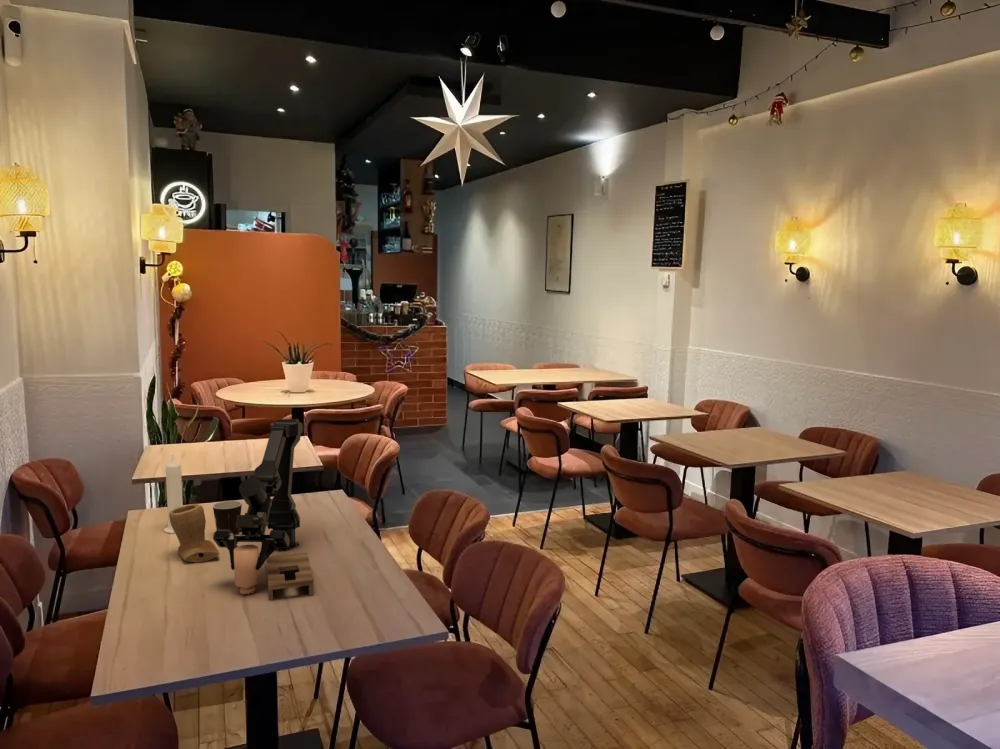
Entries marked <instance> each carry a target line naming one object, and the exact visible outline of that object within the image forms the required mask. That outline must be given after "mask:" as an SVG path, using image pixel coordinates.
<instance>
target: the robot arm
mask: <svg viewBox="0 0 1000 749" xmlns="http://www.w3.org/2000/svg"><path fill="white" fill-rule="evenodd" d="M303 431H304V426H303V423H302V422H300V420H299V419H298V418H295V419H294V418H278V419H277V420H276V421H275V422H271V423H270V427H269V436H268V440H267V443H266V447H265V450H264V454H263V458H262V461H261V463H260V464H259V465H258V466H257V467H256V468H255V469H254V472H253V474H249V475H248V476H249V477H248V478H246V479H244V480H243V481H242V482H241V483H240V484H239V487H238V491H239V494H240V495H241V497H242V499H243V500H244V502H245V504H246V505H247V506H248V507H247V510H246V512H244V514H241V515H237V522H236V528H238V527H239V534H233V533H232V531H231V530H226V529H218V530H217V529H216V531H214V533H213V536H212V539H213V541H214V543H215V544H216V545H217V547H218V548H221V549H223V548H224V549H225V548H226V550H228V552H229V561H230V569H231V570H232V571H234V549H235V548H236V547H239V545H238V544H239V543H261V547H260V551H259V553H258V556H259V557H258V561H257V565H256V570H259V571H260V569H261V567H262V566H264V563H265V562H267V558H268V557H271V555H272V554H273V552H276V551H278V550H279V551H283V552H286V551H288V550H290V549H293V548H294V547H296V546H298V545H300V542H297V541H296V529H298V528H300V527H301V516H300V515H299V512H298V511H297V509H296V508H297V507H296V503H295V501H294V499H293V496H292V485H293V484H292V483H293V470H294V459H295V458H294V457H295V456H294V454H295V447H296V446H297V445H298V443H299V442H300V441H301V437H302V434H303ZM269 494H274V496H273V497H271V496H270V495H269ZM266 529H267V530H270V529H271V530H270V532H269V534H266ZM240 533H241V534H240Z"/></svg>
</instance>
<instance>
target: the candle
mask: <svg viewBox="0 0 1000 749" xmlns="http://www.w3.org/2000/svg"><path fill="white" fill-rule="evenodd" d="M165 480H166V481H165V482H166V484H165V485H166V501H167V502H166V505H167V521H168V522H167V525H168V526H166V527H164V529H163V532H164V531H165V532H170V533H171V532H173V533H175V532H174V530H173V528H172V526H171V523H170V517H169V513H170V512H171V511H172V510H173V509H175V508H178V507H182V506H184V504H183V502H184V501H183V484H182V483H183V479H182V464H181V463H180V462H178V461H177V460H176V459H175V455H174V454H172V455H171V459H170V461H169V462H168V463H167V464H166V465H165ZM165 532H164V533H165Z"/></svg>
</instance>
